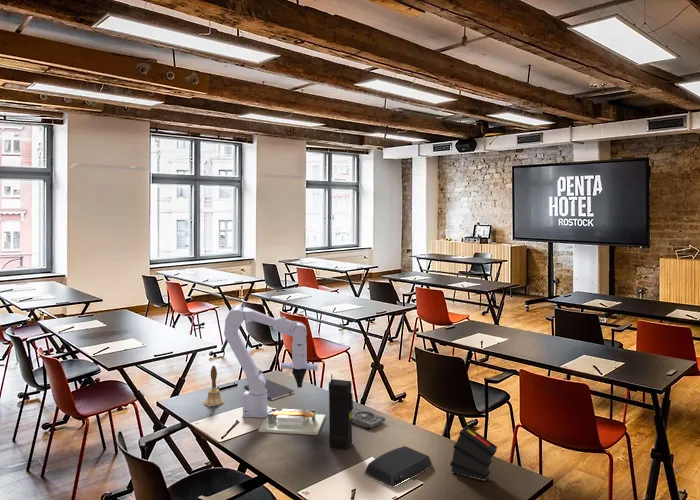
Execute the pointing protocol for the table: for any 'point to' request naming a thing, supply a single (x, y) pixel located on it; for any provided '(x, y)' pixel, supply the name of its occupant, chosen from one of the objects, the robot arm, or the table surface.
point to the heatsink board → (305, 430)
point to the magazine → (472, 454)
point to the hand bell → (214, 391)
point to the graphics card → (366, 418)
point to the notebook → (275, 390)
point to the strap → (292, 413)
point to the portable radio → (340, 414)
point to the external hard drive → (397, 465)
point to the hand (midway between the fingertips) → (299, 386)
